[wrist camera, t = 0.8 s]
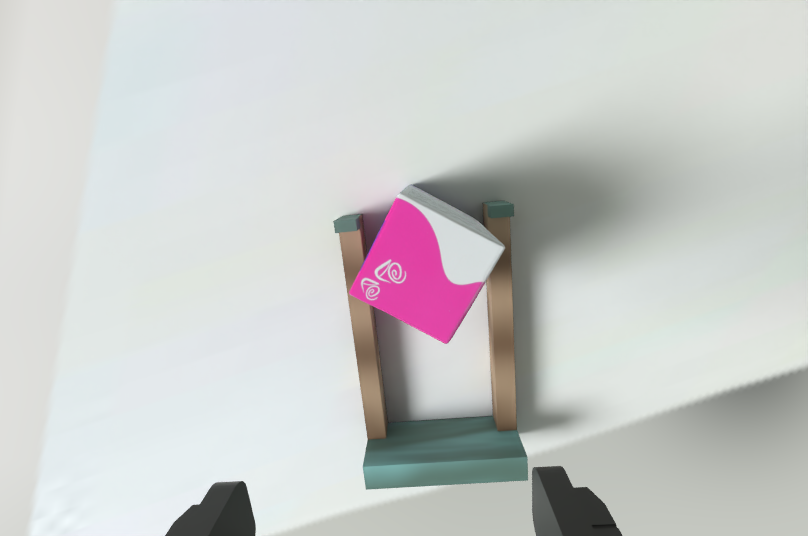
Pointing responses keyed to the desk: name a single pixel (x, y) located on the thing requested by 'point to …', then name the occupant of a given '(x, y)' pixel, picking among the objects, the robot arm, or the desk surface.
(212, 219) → the desk surface
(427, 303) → the supplement box
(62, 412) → the desk surface
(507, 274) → the guide lane
